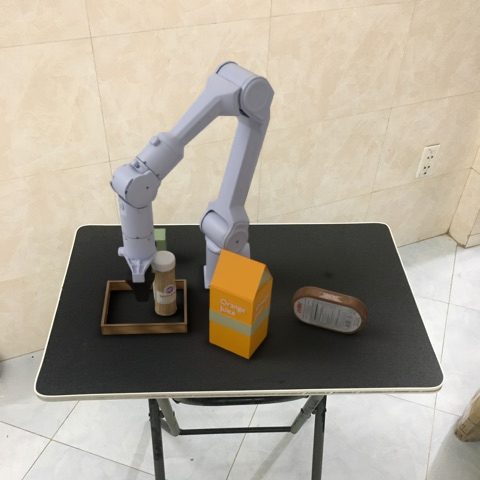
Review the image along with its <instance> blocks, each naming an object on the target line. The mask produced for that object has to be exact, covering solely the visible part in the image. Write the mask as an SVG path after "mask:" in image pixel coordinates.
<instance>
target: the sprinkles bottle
mask: <svg viewBox="0 0 480 480" xmlns="http://www.w3.org/2000/svg"><path fill="white" fill-rule="evenodd" d="M175 267H176V257H175V254H174V253H173V252H172V251H168V250H167V251H158V252H157V254H156V256H155V258H154V259H153V261H152V262H151V270H152V273H155V280H154V282H153V288H154V290H153V298H154V311H155V313H156V315H159V316H161V317H170V316H173V315H174V314H175V313H176V312H177V310H178V307H177V289H176V284H175V280H176V272H175V271H176V269H175Z"/></svg>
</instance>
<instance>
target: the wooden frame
mask: <svg viewBox="0 0 480 480" xmlns="http://www.w3.org/2000/svg"><path fill="white" fill-rule="evenodd" d="M106 282H107V283H106V290H105V294H104V300H103V301H104V302H103V308H102V315H101V322H100V328H101V329H100V330H101V334H102V336H103V335H135V334H136V335H137V334H139V335H143V334H177V333H180V334H181V333H183V334H184V333H188V301H187V300H188V299H187V298H188V297H187V279H185V278H183V279H175V284H176V290H183V312H184V313H183V316H184V317H183V319H184V321H183V322H156V323H150V322H149V323H147V322H146V323H110V324H109V323H108V324H107V320H108V312H109V305H110V298H111V291H133V290H132V289H131V287H130V286H129V285H128V284H127V283H126V282H125V280H124V279H123V280H122V279H121V280H107V281H106ZM151 290H153V291H154V288H153V283H152V285H151V288H150V291H151Z"/></svg>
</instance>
